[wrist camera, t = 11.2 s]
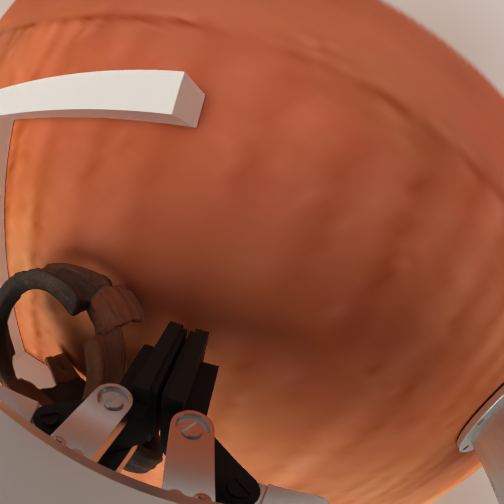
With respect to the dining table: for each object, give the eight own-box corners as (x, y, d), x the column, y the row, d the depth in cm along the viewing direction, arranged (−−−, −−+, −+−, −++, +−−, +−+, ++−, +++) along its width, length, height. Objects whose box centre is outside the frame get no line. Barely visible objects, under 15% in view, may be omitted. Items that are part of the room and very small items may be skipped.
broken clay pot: (38, 328, 15) (-39, 325, 7) (118, 249, 17) (54, 202, 9) (137, 458, 13) (95, 521, 6) (234, 388, 16) (241, 445, 8)
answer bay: (205, 95, 10) (174, 60, 6) (157, 428, 16) (142, 468, 12) (9, 99, 9) (-34, 96, 6) (18, 356, 16) (-6, 380, 12)
